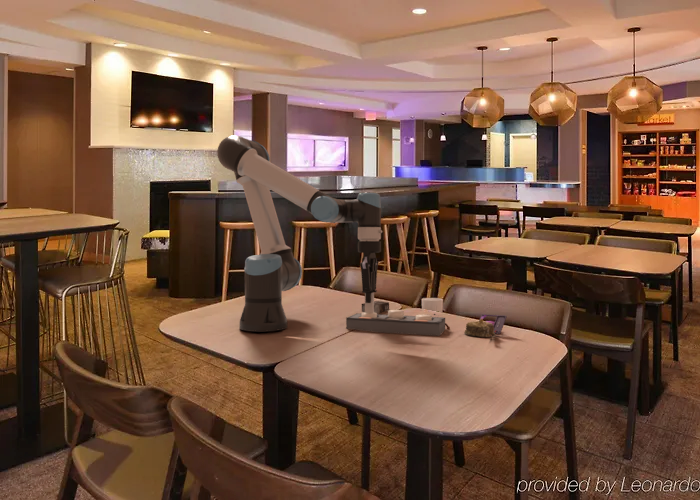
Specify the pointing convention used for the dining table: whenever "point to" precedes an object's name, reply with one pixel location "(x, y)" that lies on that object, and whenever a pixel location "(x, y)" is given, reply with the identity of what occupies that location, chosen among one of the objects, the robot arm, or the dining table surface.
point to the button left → (369, 315)
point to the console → (396, 324)
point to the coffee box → (378, 306)
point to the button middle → (396, 314)
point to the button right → (424, 317)
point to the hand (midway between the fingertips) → (369, 312)
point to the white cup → (432, 304)
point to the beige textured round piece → (480, 329)
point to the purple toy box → (496, 322)
